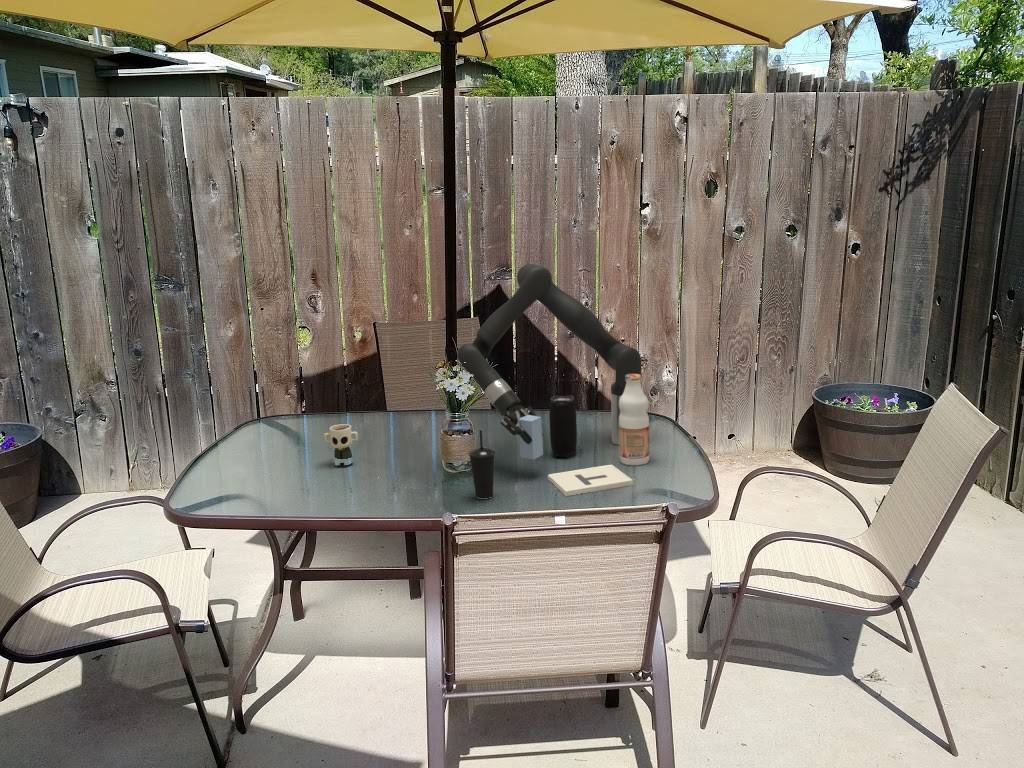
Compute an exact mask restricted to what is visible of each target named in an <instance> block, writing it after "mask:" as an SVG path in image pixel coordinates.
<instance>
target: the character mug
mask: <svg viewBox="0 0 1024 768" xmlns="http://www.w3.org/2000/svg"><path fill="white" fill-rule="evenodd" d="M323 435H324V442H325V443H328V444H329V443H330V445H331V447H332V448H333V449H334V456H333V457H335V458H337V459H348V458H351V457H353V453H352V450H351V447H350V446H352V445H353V443H354V442H358V441H359V437H358V436H359V435H358V431H352V425H351V424H348V423H341V424H335V425H332V426H330V427H329V432H326V433H324V434H323ZM353 435H354V438H353ZM328 437H329V438H328Z"/></svg>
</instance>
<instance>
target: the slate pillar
mask: <svg viewBox="0 0 1024 768" xmlns="http://www.w3.org/2000/svg"><path fill="white" fill-rule="evenodd" d="M519 421H520V422H521V425H522V426H523V428H524V431H526V432H527V433H528V435H529V436H530V437H531V438H532V442H531V443H530V444H527V443H525V441H524V440H523V439H522V438H521V436H519V435H518V442H519V457H520V458H524V459H530V460H536V459H538V458H539V457H541V456H543V455H544V447H543V446H544V443H543V442H544V441H543V436H542V433H543V427H542V426H543V424H542V416H537V415H536V416H532V415H527V416H524V417H522V418H520V419H519ZM519 429H520V428H519Z"/></svg>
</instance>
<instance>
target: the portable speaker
mask: <svg viewBox="0 0 1024 768" xmlns="http://www.w3.org/2000/svg"><path fill="white" fill-rule="evenodd" d="M549 400H550V402H549V438H550V448H551V451H552V452H551V453H552V454H551V455H552V457H553V456H554V457H553V458H555V457H557V458H558V457H565V458H566V459H568V458H569V459H571V458H574V457H576V454H577V442H578V441H577V440H578V437H577V436H578V434H577V431H578V430H577V428H578V427H577V425H578V424H577V410H576V404H575V397H574V395H569V394H568V395H553V396H551V397H550V398H549Z"/></svg>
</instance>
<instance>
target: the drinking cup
mask: <svg viewBox="0 0 1024 768" xmlns="http://www.w3.org/2000/svg"><path fill="white" fill-rule="evenodd" d="M495 454H496V450H495V449H493V448H490V447H488V446H483V431H482V430H480V429H479V446H478V447H475V448H474V449H473V448H472V449H471V450H468V455H469V460H470V466H471V473H472V478H473V485H474V490H475V491H474V492H475V497H476V496H477V497H479V498H489V497H492V496H494V478H495V476H494V474H495ZM492 498H493V497H492Z"/></svg>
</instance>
